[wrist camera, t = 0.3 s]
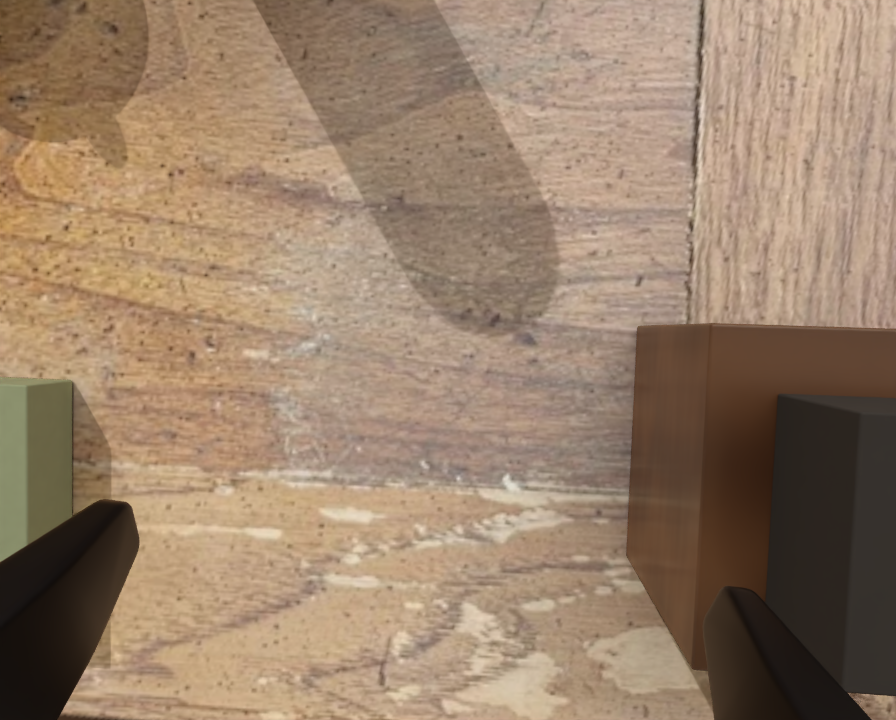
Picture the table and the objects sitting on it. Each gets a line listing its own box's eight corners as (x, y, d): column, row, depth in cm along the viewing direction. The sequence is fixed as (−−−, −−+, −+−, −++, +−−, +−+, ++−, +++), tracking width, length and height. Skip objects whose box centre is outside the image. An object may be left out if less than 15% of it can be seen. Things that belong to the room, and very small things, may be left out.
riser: (867, 571, 23) (1066, 698, 15) (625, 556, 24) (692, 671, 16) (883, 333, 22) (1097, 334, 14) (636, 325, 23) (710, 323, 15)
